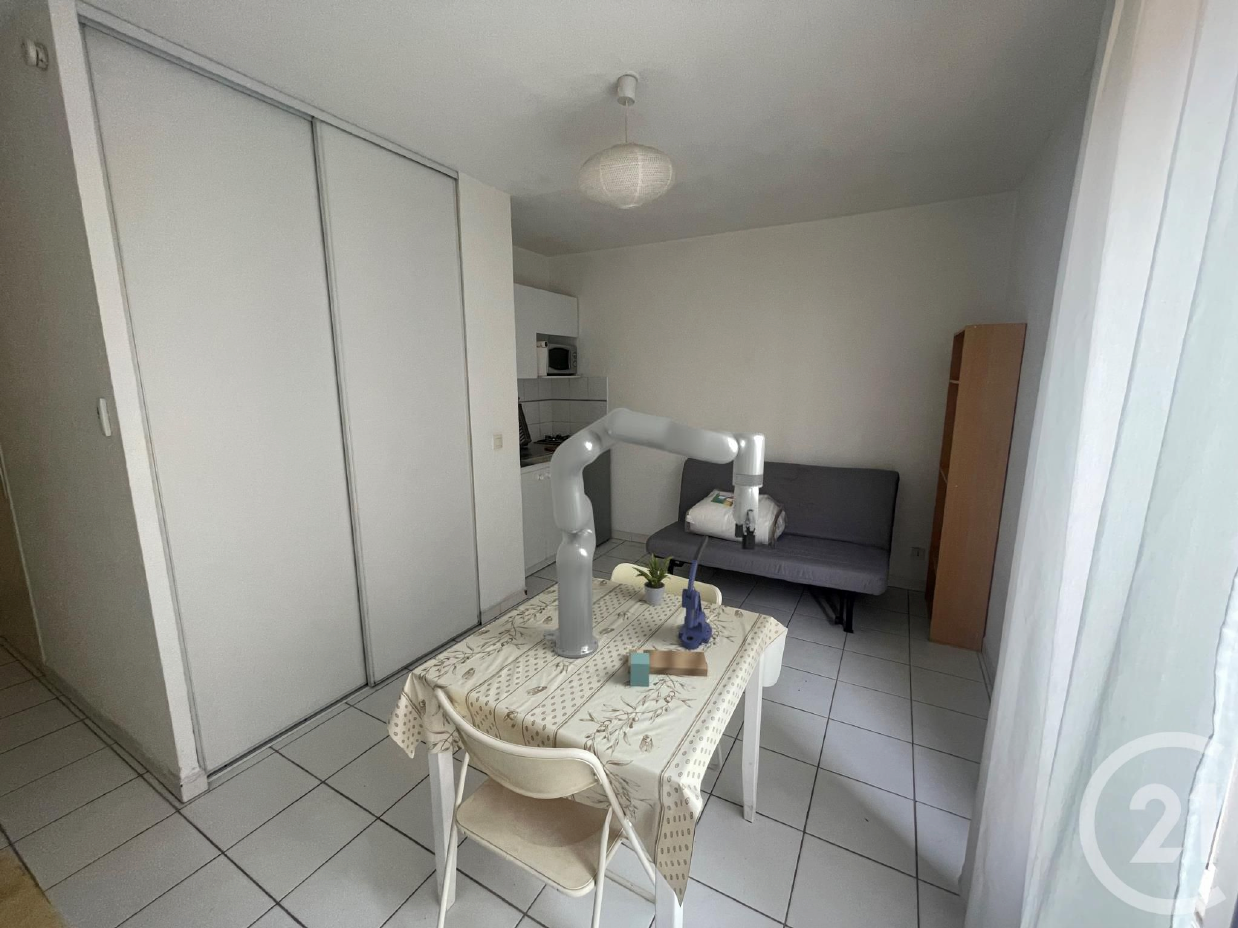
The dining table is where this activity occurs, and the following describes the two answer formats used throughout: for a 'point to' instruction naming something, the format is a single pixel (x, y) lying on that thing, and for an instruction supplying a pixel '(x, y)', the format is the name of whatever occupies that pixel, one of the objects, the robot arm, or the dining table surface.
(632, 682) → the gauge
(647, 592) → the house plant
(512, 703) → the dining table surface
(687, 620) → the hand press
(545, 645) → the dining table surface
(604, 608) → the dining table surface
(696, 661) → the board
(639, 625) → the dining table surface
